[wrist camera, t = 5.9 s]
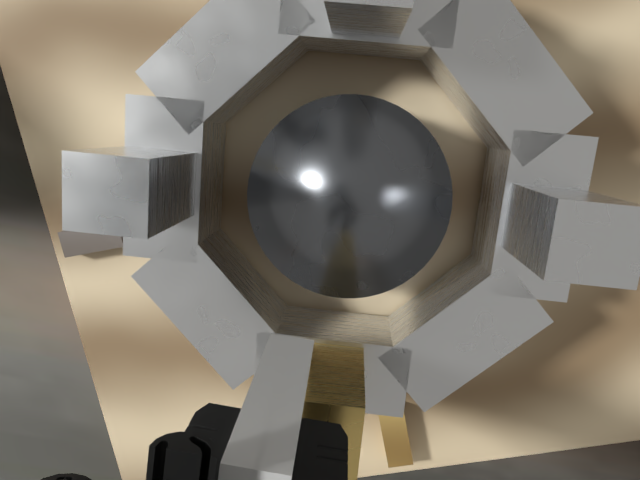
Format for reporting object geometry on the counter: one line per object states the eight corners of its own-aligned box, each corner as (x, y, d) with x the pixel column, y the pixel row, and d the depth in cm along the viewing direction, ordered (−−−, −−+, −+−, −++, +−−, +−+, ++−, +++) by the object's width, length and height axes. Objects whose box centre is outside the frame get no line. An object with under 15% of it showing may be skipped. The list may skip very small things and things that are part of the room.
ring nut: (152, 350, 22) (58, 451, 15) (164, -38, 19) (53, -136, 12) (515, 391, 21) (592, 517, 14) (586, -5, 18) (727, -87, 11)
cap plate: (-14, -64, 21) (-59, -88, 18) (634, -230, 18) (673, -281, 16) (143, 485, 25) (122, 520, 23) (683, 412, 23) (719, 442, 20)
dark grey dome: (249, 119, 20) (226, 117, 16) (421, 84, 19) (435, 73, 16) (284, 283, 21) (270, 313, 18) (448, 255, 20) (466, 280, 17)
